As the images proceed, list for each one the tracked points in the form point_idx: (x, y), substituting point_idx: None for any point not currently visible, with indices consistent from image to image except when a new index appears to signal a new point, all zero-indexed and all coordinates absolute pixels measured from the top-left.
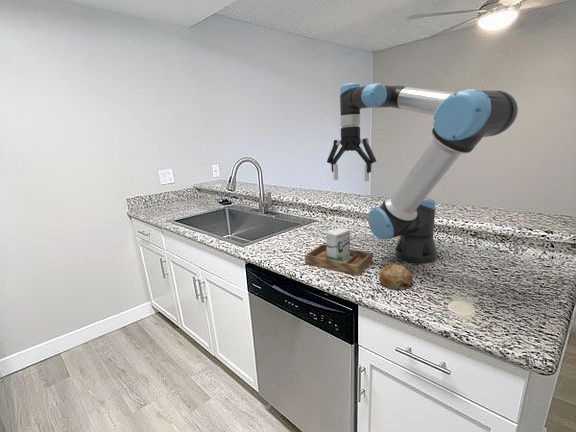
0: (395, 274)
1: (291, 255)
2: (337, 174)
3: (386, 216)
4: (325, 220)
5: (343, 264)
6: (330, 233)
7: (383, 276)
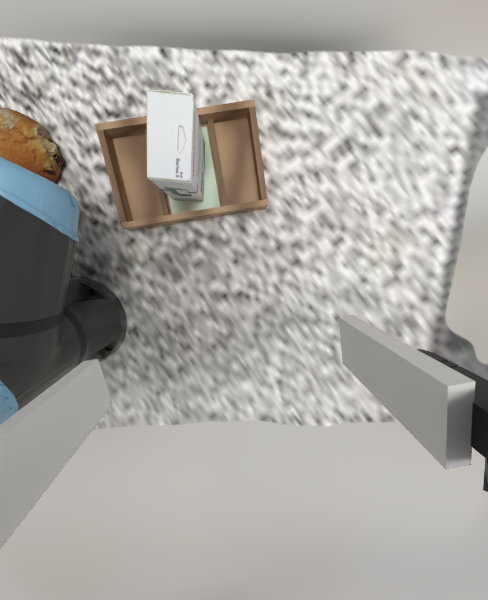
0: None
1: (316, 135)
2: (362, 375)
3: None
4: None
5: (136, 119)
6: (173, 95)
7: (17, 113)
